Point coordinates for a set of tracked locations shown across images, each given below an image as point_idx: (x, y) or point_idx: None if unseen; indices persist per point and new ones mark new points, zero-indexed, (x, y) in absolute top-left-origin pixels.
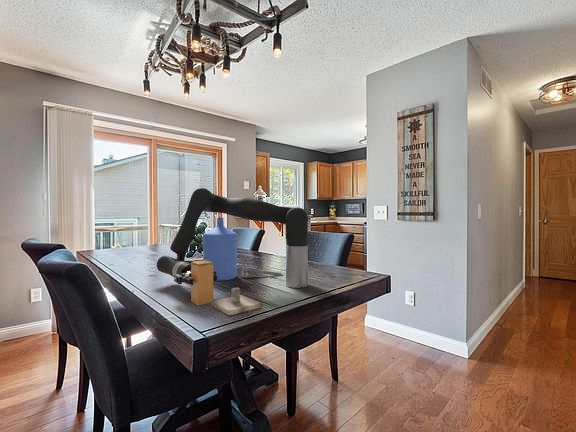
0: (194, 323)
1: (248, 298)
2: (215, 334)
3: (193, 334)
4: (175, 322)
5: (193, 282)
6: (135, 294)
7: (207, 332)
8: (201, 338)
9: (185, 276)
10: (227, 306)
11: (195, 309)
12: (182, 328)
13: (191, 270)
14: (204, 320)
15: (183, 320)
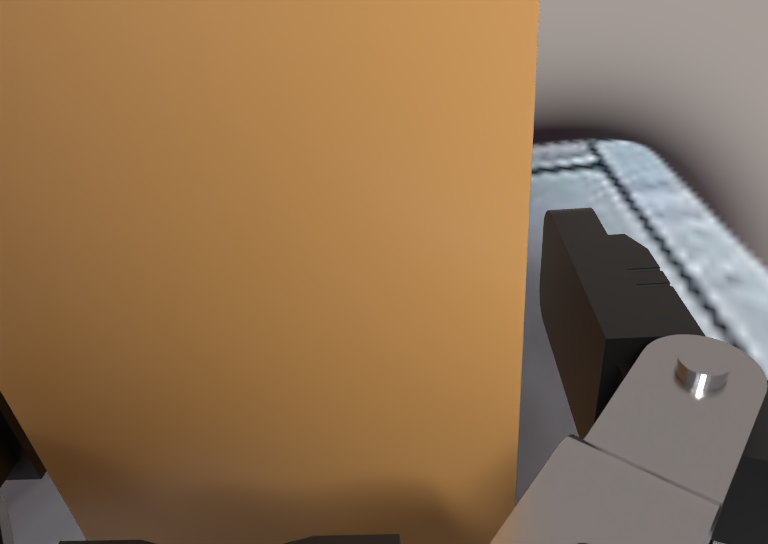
0: (613, 225)
1: None
2: (545, 143)
3: (640, 161)
4: (745, 269)
5: (543, 265)
6: None
7: (572, 158)
8: (611, 139)
9: (721, 358)
10: None
11: (541, 406)
12: (693, 206)
13: (522, 225)
14: None
15: (683, 273)
